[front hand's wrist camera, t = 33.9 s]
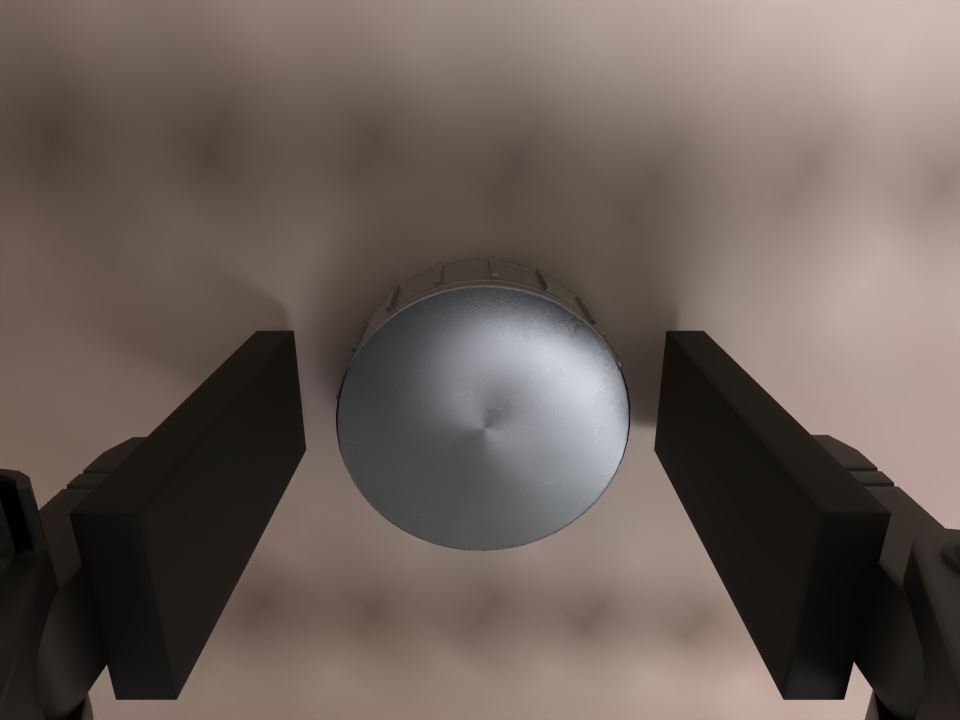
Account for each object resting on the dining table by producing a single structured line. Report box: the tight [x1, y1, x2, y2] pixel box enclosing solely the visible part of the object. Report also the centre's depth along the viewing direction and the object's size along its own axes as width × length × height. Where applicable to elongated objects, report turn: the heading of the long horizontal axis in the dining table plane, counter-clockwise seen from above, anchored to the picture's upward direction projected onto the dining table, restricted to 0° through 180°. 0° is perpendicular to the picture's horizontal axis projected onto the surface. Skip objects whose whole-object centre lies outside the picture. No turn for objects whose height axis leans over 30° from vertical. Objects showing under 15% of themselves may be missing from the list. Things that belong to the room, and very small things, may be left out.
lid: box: [336, 256, 630, 551], centre depth 13 cm, size 5×5×2 cm
